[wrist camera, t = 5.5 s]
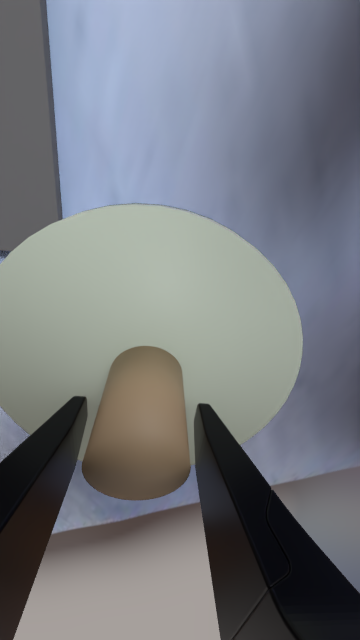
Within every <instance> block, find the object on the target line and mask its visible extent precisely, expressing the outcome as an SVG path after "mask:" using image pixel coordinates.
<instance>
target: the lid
mask: <svg viewBox="0 0 360 640" xmlns="http://www.w3.org/2000/svg"><path fill="white" fill-rule="evenodd" d="M302 350H303V334H302V326H301V319H300V316H299V313H298V309H297V306H296V303H295V300H294V298H293V296H292V294H291V292H290V290H289V288H288V286H287V284H286V282H285V281H284V280H283V278H282V277H281V275H280V274H279V273H278V271H277V270H276V268H275V267H274V266H273V265H272V264H271V263H270V262H269V261H268V260H267V259H266V258H265V257H264V256H263V255H262V254H261V253H260V252H259V251H258V250H257V249H256V248H255V247H253V246H252V245H251V244H249V243H248V242H247V241H245V240H244V239H243V238H241V237H240V236H239V235H237V234H236V233H235V232H233V231H232V230H230V229H228V228H227V227H225V226H223V225H221V224H219V223H217V222H215V221H213V220H212V219H210V218H207V217H204V216H202V215H199V214H196V213H193V212H191V211H188V210H184V209H179V208H174V207H170V206H165V205H157V204H141V203H131V204H118V205H109V206H104V207H100V208H95V209H91V210H87V211H83V212H81V213H78V214H75V215H73V216H70V217H67V218H65V219H62V220H60V221H57V222H55V223H52V224H50V225H48V226H47V227H45V228H43V229H42V230H40V231H38V232H37V233H35V234H33V235H31V236H30V237H28V238H27V239H26V240H25V241H23V242H22V243H21V244H20V245H19V246H18V247H16V248H15V249H14V250H13V251H12V252H10V253H9V255H8V256H7V257H6V258H5V259H4V261H3V262H2V263H1V264H0V406H1V407H2V408H3V410H4V411H5V412H6V413H7V414H8V415H9V416H10V417H11V418H12V419H13V421H14V422H15V423H16V424H18V425H19V426H20V427H21V428H22V429H24V430H25V431H26V432H27V433H28V434H30V435H31V434H32V433H33V432H35V431H36V430H37V429H38V428H39V427H40V426H41V425H42V424H43V423H44V422H46V421H47V420H48V419H49V418H50V417H51V416H52V415H53V414H54V413H55V412H57V411H58V410H59V409H60V408H61V407H62V406H63V405H64V404H65V403H66V402H68V401H69V400H70V399H71V398H72V397H73V396H85V397H86V398H87V410H88V416H87V422H86V426H85V430H84V434H83V438H82V442H81V446H80V451H79V455H78V459H77V460H80V461H83V462H82V473H83V475H84V478H85V479H86V481H87V482H88V483H89V484H90V485H91V486H92V487H93V488H94V489H96V490H97V491H99V492H101V493H103V494H105V495H108V496H111V497H114V498H118V499H124V500H148V499H154V498H158V497H161V496H164V495H167V494H169V493H171V492H173V491H175V490H176V489H178V488H179V487H180V486H181V485H182V484H184V482H185V481H186V480H187V478H188V476H189V473H190V468H191V467H190V465H194V464H195V446H194V417H195V413H196V408H197V405H198V404H199V403H208V404H210V405H211V407H212V408H213V409H214V411H215V412H216V413H217V415H218V416H219V418H220V419H221V420H222V422H223V423H224V424H225V426H226V427H227V428H228V430H229V431H230V432H231V434H232V435H233V436H234V438H235V439H236V441H237V442H238V443H239V445H241V444H243V443H244V442H246V441H247V440H249V439H250V438H251V437H253V436H254V435H256V434H257V433H258V432H259V431H260V430H261V429H262V428H264V427H265V426H266V425H267V424H268V423H269V422H270V421H271V419H272V418H273V417H274V416H275V415H276V414H277V413H278V411H279V410H280V409H281V407H282V406H283V404H284V403H285V401H286V400H287V398H288V396H289V394H290V392H291V390H292V389H293V387H294V384H295V381H296V378H297V376H298V373H299V369H300V364H301V359H302Z"/></svg>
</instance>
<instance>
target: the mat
mask: <svg viewBox="0 0 360 640" xmlns="http://www.w3.org/2000/svg"><path fill="white" fill-rule="evenodd" d="M60 220H62V207H61V194H60V180H59V167H58V154H57V141H56V128H55V115H54V102H53V88H52V75H51V62H50V49H49V36H48V23H47V10H46V0H0V250H4V251H13V250H14V249H15V248H16V247H18V246H19V245H20V244H21V243H22V242H23V241H25V240H26V239H27V238H28V237H30V236H31V235H33V234H35V233H37V232H38V231H40V230H42V229H43V228H45V227H47V226H48V225H50V224H52V223H55V222H57V221H60Z"/></svg>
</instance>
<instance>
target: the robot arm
mask: <svg viewBox="0 0 360 640" xmlns="http://www.w3.org/2000/svg"><path fill="white" fill-rule="evenodd" d="M87 416H88V410H87V398H86V397H85V396H73V397H72V398H71V399H70V400H69V401H68V402H66V403H65V404H64V405H63V406H62V407H61V408H60V409H59V410H58V411H57V412H55V413H54V414H53V415H52V416H51V417H50V418H49V419H48V420H47V421H46V422H44V423H43V424H42V425H41V426H40V427H39V428H38V429H37V430H36V431H35V432H33V433H32V434H31V435H30V436H29V437H28V438H27V439H26V440H25V441H24V442H23V443H21V444H20V445H19V446H18V447H17V448H16V449H15V450H14V451H13V452H12V453H10V454H9V455H8V456H7V457H6V458H5V459H4V460H3V461H2V462H1V463H0V640H13V638H14V635H15V633H16V630H17V627H18V625H19V622H20V619H21V616H22V613H23V611H24V608H25V605H26V602H27V599H28V597H29V594H30V591H31V588H32V586H33V583H34V580H35V577H36V575H37V572H38V569H39V566H40V563H41V561H42V558H43V555H44V552H45V550H46V546H47V544H48V541H49V538H50V536H51V533H52V530H53V527H54V525H55V522H56V519H57V516H58V514H59V511H60V508H61V505H62V502H63V500H64V497H65V494H66V491H67V489H68V486H69V483H70V480H71V478H72V475H73V472H74V469H75V466H76V462H77V459H78V455H79V451H80V446H81V442H82V438H83V434H84V430H85V426H86V422H87ZM194 446H195V468H196V476H197V483H198V490H199V497H200V503H201V509H202V517H203V523H204V530H205V537H206V544H207V550H208V557H209V564H210V570H211V577H212V584H213V590H214V598H215V603H216V611H217V618H218V624H219V631H220V638H221V640H360V593H359V592H358V591H357V590H356V589H355V588H354V587H353V586H352V584H351V583H350V582H349V581H348V580H347V579H346V578H345V576H344V575H342V573H341V572H340V571H339V570H338V568H337V567H336V566H335V565H334V564H333V563H332V561H330V559H329V558H328V557H327V556H326V555H325V554H324V552H323V551H322V550H321V549H320V548H319V547H318V545H317V544H316V543H315V542H314V541H313V540H312V538H311V537H310V536H309V535H308V534H307V533H306V531H305V530H304V529H303V528H302V527H301V525H300V524H299V523H298V522H297V521H296V519H295V518H294V517H293V516H292V514H291V513H290V512H289V510H288V509H287V508H286V507H285V505H284V504H283V503H282V501H281V500H280V499H279V497H278V496H277V495H276V493H275V492H274V490H271V487H270V485H269V484H268V483H267V481H266V480H265V478H264V477H263V476H262V474H261V473H260V472H259V470H258V469H257V468H256V466H255V465H254V464H253V462H252V461H251V459H250V458H249V457H248V455H247V454H246V453H245V451H244V450H243V449H242V447H241V446H240V445H239V443H238V442H237V441H236V439H235V438H234V436H233V435H232V434H231V432H230V431H229V430H228V428H227V427H226V426H225V424H224V423H223V422H222V420H221V419H220V418H219V416H218V415H217V413H216V412H215V411H214V409H213V408H212V407H211V405H210V404H208V403H199V404H198V405H197V408H196V413H195V417H194Z"/></svg>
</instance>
